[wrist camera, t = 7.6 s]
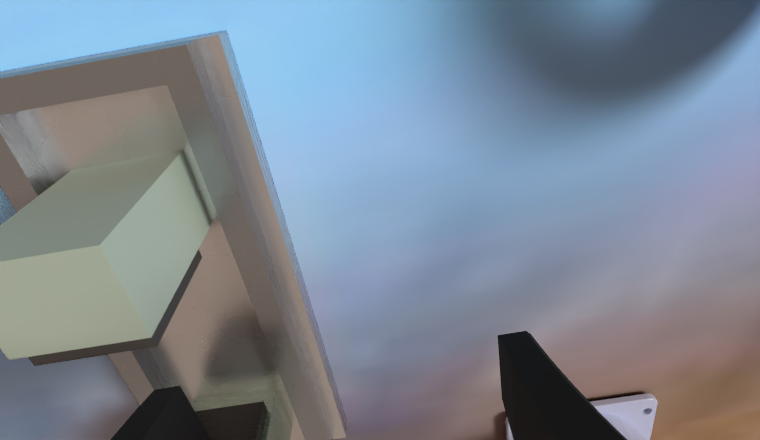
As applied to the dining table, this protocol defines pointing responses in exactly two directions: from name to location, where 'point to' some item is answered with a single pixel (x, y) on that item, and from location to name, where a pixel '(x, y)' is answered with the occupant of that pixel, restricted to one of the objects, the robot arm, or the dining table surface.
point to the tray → (219, 247)
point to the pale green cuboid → (100, 260)
